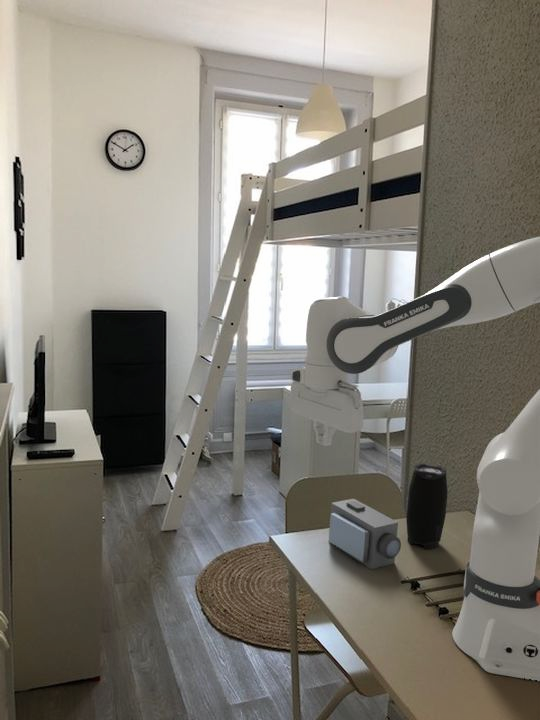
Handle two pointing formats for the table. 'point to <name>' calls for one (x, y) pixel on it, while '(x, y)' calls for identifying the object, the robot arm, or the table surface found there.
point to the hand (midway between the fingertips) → (323, 444)
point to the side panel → (349, 537)
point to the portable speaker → (426, 505)
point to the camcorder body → (372, 531)
